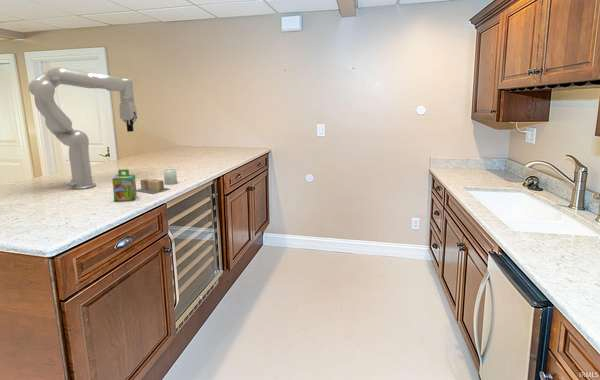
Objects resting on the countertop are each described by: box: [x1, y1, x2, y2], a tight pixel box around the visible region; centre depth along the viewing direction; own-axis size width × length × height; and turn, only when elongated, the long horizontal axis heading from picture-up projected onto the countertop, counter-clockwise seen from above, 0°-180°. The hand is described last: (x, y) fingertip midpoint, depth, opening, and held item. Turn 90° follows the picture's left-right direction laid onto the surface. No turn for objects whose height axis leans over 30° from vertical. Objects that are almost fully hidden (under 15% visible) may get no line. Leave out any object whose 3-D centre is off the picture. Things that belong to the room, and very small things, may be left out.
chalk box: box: [111, 169, 137, 202], centre depth 184 cm, size 9×9×15 cm
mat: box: [136, 187, 171, 195], centre depth 204 cm, size 12×14×1 cm
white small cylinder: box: [163, 168, 178, 186], centre depth 219 cm, size 7×7×8 cm
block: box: [140, 177, 165, 191], centre depth 204 cm, size 5×5×12 cm
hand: (130, 131), depth 226 cm, fingers closed
